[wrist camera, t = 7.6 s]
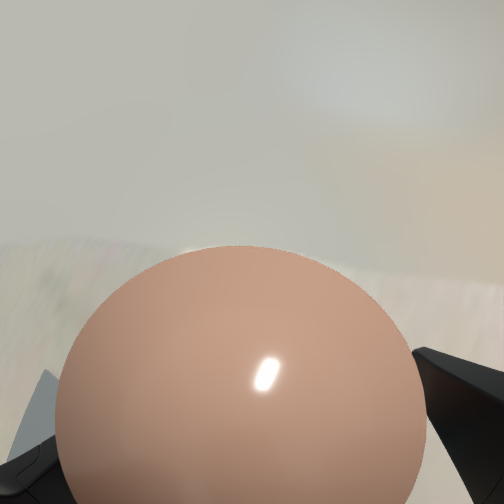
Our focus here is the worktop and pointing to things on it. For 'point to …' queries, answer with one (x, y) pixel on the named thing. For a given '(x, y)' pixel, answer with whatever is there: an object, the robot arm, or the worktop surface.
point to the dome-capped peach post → (240, 388)
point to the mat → (37, 417)
